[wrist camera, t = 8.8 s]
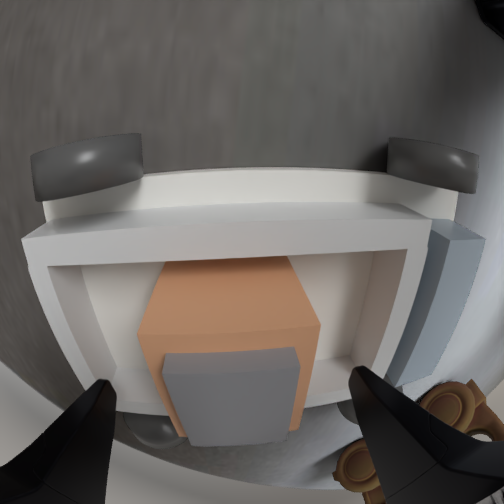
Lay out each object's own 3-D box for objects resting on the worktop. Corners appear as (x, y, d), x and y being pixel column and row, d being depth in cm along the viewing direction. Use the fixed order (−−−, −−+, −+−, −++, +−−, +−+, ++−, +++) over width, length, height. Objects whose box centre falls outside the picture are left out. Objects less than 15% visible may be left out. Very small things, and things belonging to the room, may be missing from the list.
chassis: (450, 152, 11) (508, 166, 7) (393, 369, 18) (417, 409, 14) (48, 155, 9) (-12, 170, 5) (121, 393, 16) (108, 441, 12)
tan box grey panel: (284, 251, 12) (330, 343, 6) (278, 352, 14) (302, 444, 9) (167, 257, 11) (129, 354, 6) (186, 357, 14) (178, 452, 8)
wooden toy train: (465, 353, 20) (540, 460, 4) (472, 381, 23) (525, 461, 8) (319, 456, 24) (349, 568, 9) (359, 462, 28) (388, 546, 13)
